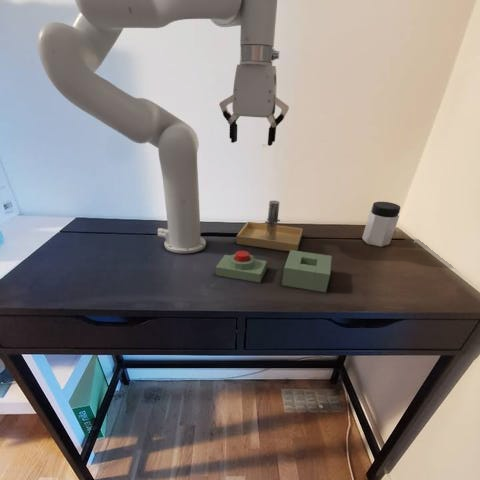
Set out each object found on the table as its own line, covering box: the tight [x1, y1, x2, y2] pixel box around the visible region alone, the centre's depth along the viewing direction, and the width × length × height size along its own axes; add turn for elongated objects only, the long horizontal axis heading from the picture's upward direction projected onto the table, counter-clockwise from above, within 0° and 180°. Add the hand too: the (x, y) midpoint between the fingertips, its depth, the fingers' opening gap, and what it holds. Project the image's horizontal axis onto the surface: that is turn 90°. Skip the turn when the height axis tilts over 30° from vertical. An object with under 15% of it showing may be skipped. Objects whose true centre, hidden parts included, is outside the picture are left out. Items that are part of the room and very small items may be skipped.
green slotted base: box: [281, 250, 333, 293], centre depth 81 cm, size 11×11×5 cm
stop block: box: [215, 253, 268, 283], centre depth 83 cm, size 12×8×4 cm, turn 75°
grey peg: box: [264, 200, 281, 240], centre depth 99 cm, size 4×4×12 cm
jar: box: [361, 201, 401, 248], centre depth 101 cm, size 9×8×12 cm
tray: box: [235, 221, 304, 252], centre depth 102 cm, size 19×14×3 cm
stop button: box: [234, 250, 250, 262], centre depth 81 cm, size 4×4×2 cm
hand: (251, 143), depth 81 cm, fingers open, 9 cm apart
